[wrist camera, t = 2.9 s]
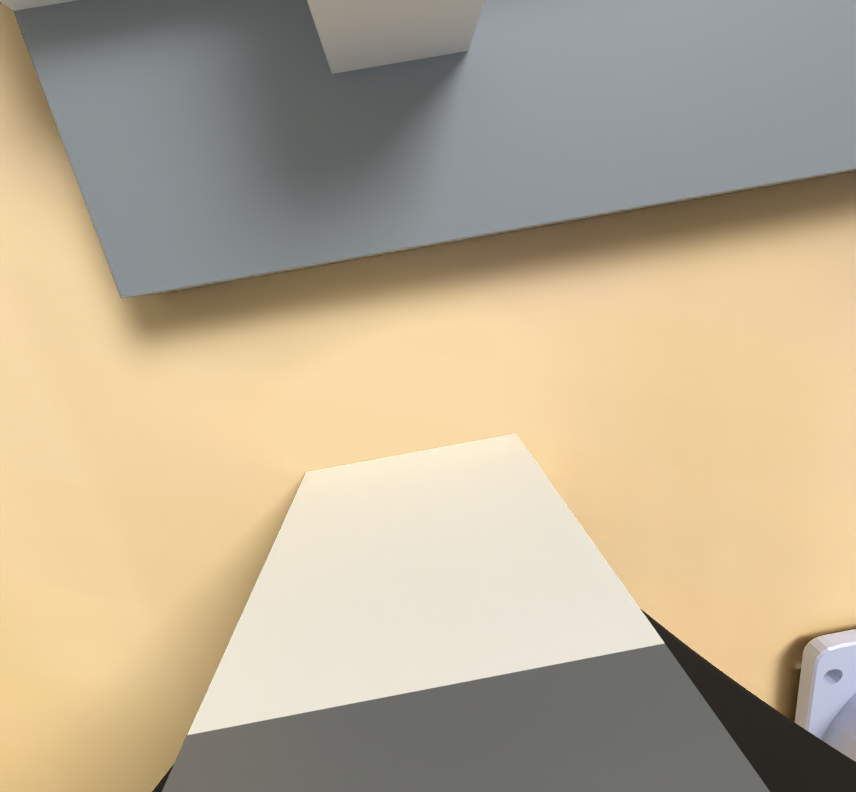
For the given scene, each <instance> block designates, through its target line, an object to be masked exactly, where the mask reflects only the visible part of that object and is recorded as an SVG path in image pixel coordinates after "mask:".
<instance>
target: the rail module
mask: <svg viewBox="0 0 856 792" xmlns="http://www.w3.org/2000/svg"><path fill="white" fill-rule="evenodd" d="M162 792H770V791H769V789H768V788H767V787H766V785H765V784H764V782H763V781H762V779H761V778H760V777H759V775H758V774H757V772H756V771H755V770H754V768H753V767H752V765H751V764H750V763H749V761H748V760H747V758H746V757H745V756H744V754H743V753H742V751H741V750H740V749H739V747H738V746H737V744H736V743H735V741H734V740H733V739H732V737H731V736H730V734H729V733H728V732H727V730H726V729H725V727H724V726H723V725H722V723H721V722H720V720H719V719H718V718H717V716H716V715H715V713H714V712H713V710H712V709H711V708H710V706H709V705H708V703H707V702H706V701H705V699H704V698H703V696H702V695H701V694H700V692H699V691H698V689H697V688H696V687H695V685H694V684H693V682H692V681H691V679H690V678H689V677H688V675H687V674H686V672H685V671H684V670H683V668H682V667H681V665H680V664H679V663H678V661H677V660H676V658H675V657H674V656H673V654H672V653H671V651H670V650H669V649H668V647H667V646H666V644H665V643H664V641H663V640H662V639H661V637H660V636H659V634H658V633H657V632H656V630H655V629H654V627H653V626H652V625H651V623H650V622H649V620H648V619H647V618H646V616H645V615H644V613H643V612H642V610H641V609H640V608H639V606H638V605H637V603H636V602H635V601H634V599H633V598H632V596H631V595H630V594H629V592H628V591H627V589H626V588H625V587H624V585H623V584H622V582H621V581H620V579H619V578H618V577H617V575H616V574H615V572H614V571H613V570H612V568H611V567H610V565H609V564H608V563H607V561H606V560H605V558H604V557H603V556H602V554H601V553H600V551H599V550H598V549H597V547H596V546H595V544H594V543H593V541H592V540H591V539H590V537H589V536H588V534H587V533H586V532H585V530H584V529H583V527H582V526H581V525H580V523H579V522H578V520H577V519H576V518H575V516H574V515H573V513H572V512H571V510H570V509H569V508H568V506H567V505H566V503H565V502H564V501H563V499H562V498H561V496H560V495H559V494H558V492H557V491H556V489H555V488H554V487H553V485H552V484H551V482H550V481H549V479H548V478H547V477H546V475H545V474H544V472H543V471H542V470H541V468H540V467H539V465H538V464H537V463H536V461H535V460H534V458H533V457H532V456H531V454H530V453H529V451H528V450H527V449H526V447H525V446H524V444H523V443H522V441H521V440H520V439H519V437H518V436H517V434H516V433H515V434H509V435H504V436H498V437H493V438H488V439H482V440H477V441H471V442H466V443H460V444H455V445H450V446H444V447H439V448H433V449H428V450H422V451H417V452H411V453H406V454H401V455H395V456H390V457H384V458H379V459H373V460H368V461H363V462H357V463H352V464H346V465H341V466H335V467H330V468H324V469H319V470H314V471H308V472H306V473H305V475H304V478H303V480H302V482H301V484H300V486H299V489H298V491H297V493H296V495H295V498H294V500H293V502H292V504H291V506H290V509H289V511H288V513H287V515H286V517H285V520H284V522H283V524H282V526H281V529H280V531H279V533H278V535H277V537H276V540H275V542H274V544H273V546H272V549H271V551H270V553H269V555H268V557H267V560H266V562H265V564H264V566H263V568H262V571H261V573H260V575H259V577H258V580H257V582H256V584H255V586H254V588H253V591H252V593H251V595H250V597H249V599H248V602H247V604H246V606H245V608H244V611H243V613H242V615H241V617H240V619H239V622H238V624H237V626H236V628H235V630H234V633H233V635H232V637H231V639H230V642H229V644H228V646H227V648H226V650H225V653H224V655H223V657H222V659H221V661H220V664H219V666H218V668H217V670H216V673H215V675H214V677H213V679H212V681H211V684H210V686H209V688H208V690H207V693H206V695H205V697H204V699H203V701H202V704H201V706H200V708H199V710H198V712H197V715H196V717H195V719H194V721H193V724H192V726H191V728H190V730H189V732H188V735H187V737H186V739H185V741H184V743H183V746H182V748H181V750H180V752H179V755H178V757H177V759H176V761H175V763H174V766H173V768H172V770H171V772H170V774H169V777H168V779H167V781H166V783H165V786H164V788H163V790H162Z"/></svg>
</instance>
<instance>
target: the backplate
mask: <svg viewBox="0 0 856 792" xmlns="http://www.w3.org/2000/svg"><path fill="white" fill-rule="evenodd" d="M0 2H1V3H2V4H4V5H5V6H7V7H8V8H10V9H11V10H13V11H14V14H15V16H16V19H17V22H18V24H19V27H20V30H21V32H22V35H23V38H24V40H25V43H26V46H27V48H28V51H29V54H30V56H31V59H32V62H33V64H34V67H35V70H36V72H37V75H38V78H39V80H40V83H41V86H42V88H43V91H44V94H45V96H46V99H47V102H48V104H49V107H50V110H51V112H52V115H53V118H54V120H55V123H56V126H57V128H58V131H59V134H60V136H61V139H62V142H63V144H64V147H65V150H66V152H67V155H68V158H69V160H70V163H71V166H72V168H73V171H74V174H75V176H76V179H77V182H78V184H79V187H80V190H81V192H82V195H83V198H84V200H85V203H86V206H87V208H88V211H89V214H90V216H91V219H92V222H93V224H94V227H95V230H96V232H97V235H98V238H99V240H100V243H101V246H102V248H103V251H104V254H105V256H106V259H107V262H108V264H109V267H110V270H111V272H112V275H113V278H114V280H115V283H116V286H117V288H118V291H119V294H120V296H121V298H127V297H136V296H145V295H154V294H160V293H166V292H171V291H177V290H183V289H188V288H194V287H200V286H205V285H211V284H217V283H222V282H228V281H234V280H239V279H245V278H251V277H256V276H262V275H268V274H273V273H279V272H285V271H290V270H296V269H302V268H307V267H313V266H319V265H324V264H330V263H335V262H341V261H347V260H352V259H358V258H364V257H369V256H375V255H381V254H386V253H392V252H398V251H403V250H409V249H415V248H420V247H426V246H432V245H437V244H443V243H449V242H454V241H460V240H466V239H471V238H477V237H483V236H488V235H494V234H500V233H505V232H511V231H517V230H522V229H528V228H534V227H539V226H545V225H551V224H556V223H562V222H568V221H573V220H579V219H584V218H590V217H596V216H601V215H607V214H613V213H618V212H624V211H630V210H635V209H641V208H647V207H652V206H658V205H664V204H669V203H675V202H681V201H686V200H692V199H698V198H703V197H709V196H715V195H720V194H726V193H732V192H737V191H743V190H749V189H754V188H760V187H766V186H771V185H777V184H783V183H788V182H794V181H800V180H805V179H811V178H816V177H822V176H828V175H833V174H839V173H845V172H850V171H856V0H0Z"/></svg>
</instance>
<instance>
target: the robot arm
mask: <svg viewBox="0 0 856 792" xmlns="http://www.w3.org/2000/svg"><path fill="white" fill-rule="evenodd" d="M642 612H643V613H644V615H645V616H646V618H647V619H648V620H649V622H650V623H651V625H652V626H653V627H654V629H655V630H656V632H657V633H658V634H659V636H660V637H661V639H662V640H663V641H664V643H665V644H666V646H667V647H668V649H669V650H670V651H671V653H672V654H673V656H674V657H675V658H676V660H677V661H678V663H679V664H680V665H681V667H682V668H683V670H684V671H685V672H686V674H687V675H688V677H689V678H690V679H691V681H692V682H693V684H694V685H695V687H696V688H697V689H698V691H699V692H700V694H701V695H702V696H703V698H704V699H705V701H706V702H707V703H708V705H709V706H710V708H711V709H712V710H713V712H714V713H715V715H716V716H717V718H718V719H719V720H720V722H721V723H722V725H723V726H724V727H725V729H726V730H727V732H728V733H729V734H730V736H731V737H732V739H733V740H734V741H735V743H736V744H737V746H738V747H739V749H740V750H741V751H742V753H743V754H744V756H745V757H746V758H747V760H748V761H749V763H750V764H751V765H752V767H753V768H754V770H755V771H756V772H757V774H758V775H759V777H760V778H761V779H762V781H763V782H764V784H765V785H766V787H767V788H768V789H769V791H770V792H856V629H852V630H847V631H842V632H837V633H831V634H826V635H821V636H818V637H816V638H814V639H812V640H811V641H809V642H808V644H807V645H806V646H805V648H804V651H803V657H802V665H801V673H800V682H799V690H798V698H797V707H796V715H795V722H793V721H792V720H790V719H789V718H787V717H786V716H784V715H783V714H781V713H780V712H778V711H777V710H775V709H774V708H772V707H771V706H769V705H768V704H767V703H765V702H764V701H762V700H761V699H759V698H758V697H756V696H755V695H754V694H752V693H751V692H749V691H748V690H746V689H745V688H744V687H742V686H741V685H740V684H738V683H737V682H735V681H734V680H733V679H731V678H730V677H728V676H727V675H726V674H724V673H723V672H722V671H720V670H719V669H717V668H716V667H715V666H713V665H712V664H711V663H709V662H708V661H707V660H705V659H704V658H703V657H701V656H700V655H699V654H697V653H696V652H695V651H693V650H692V649H691V648H689V647H688V646H687V645H686V644H684V643H683V642H682V641H680V640H679V639H678V638H677V637H675V636H674V635H673V634H672V633H670V632H669V631H668V630H666V629H665V628H664V627H663V626H661V625H660V624H659V623H658V622H656V621H655V620H654V619H652V618H651V617H650V616H649V615H648V614H646V613H645V612H644V611H643V610H642ZM173 766H174V765H173ZM173 766H172V767H171V768H170V770H169V771H168V772H167V774H166V775H165V776H164V777H163V779H162V780H161V781H160V783H159V784H158V785H157V786H156V788H155V789H154V790H153V791H152V792H162V790H163V788H164V786H165V783H166V781H167V779H168V777H169V774H170V772H171V770H172V768H173Z"/></svg>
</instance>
